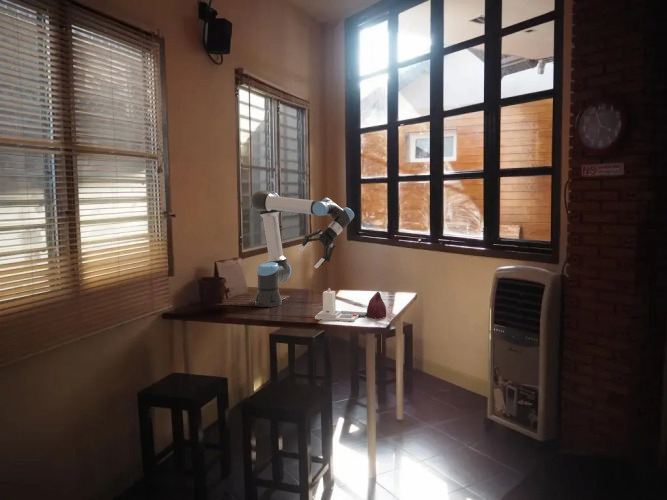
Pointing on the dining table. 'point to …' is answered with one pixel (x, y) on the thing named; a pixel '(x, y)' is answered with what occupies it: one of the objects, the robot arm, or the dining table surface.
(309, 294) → the dining table surface
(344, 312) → the phone
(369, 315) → the vegetable
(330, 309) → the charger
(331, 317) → the white base tray
